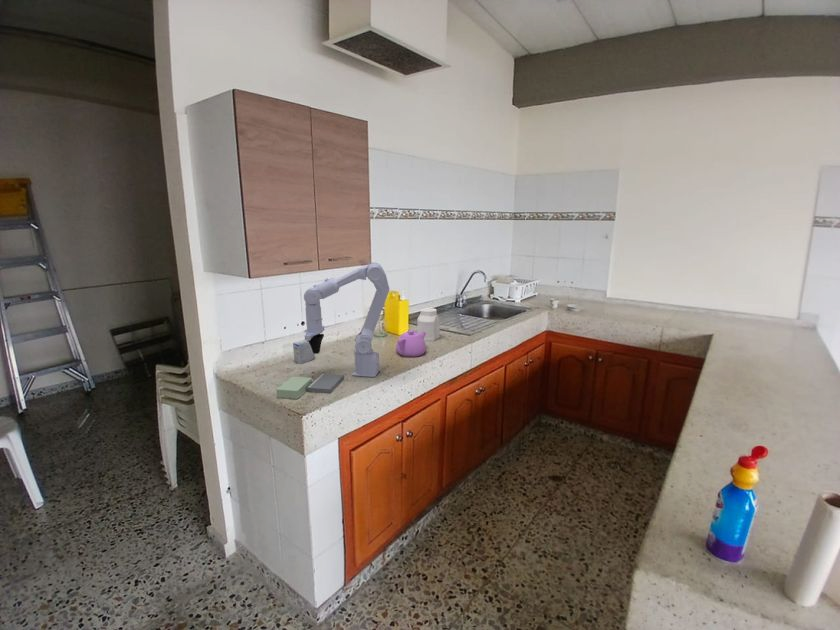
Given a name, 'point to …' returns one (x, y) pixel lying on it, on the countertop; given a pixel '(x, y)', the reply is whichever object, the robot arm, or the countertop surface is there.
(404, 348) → the teapot
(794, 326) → the countertop surface
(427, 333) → the jar
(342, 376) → the ticket body
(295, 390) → the thick sage green slab
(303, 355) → the medicine box
